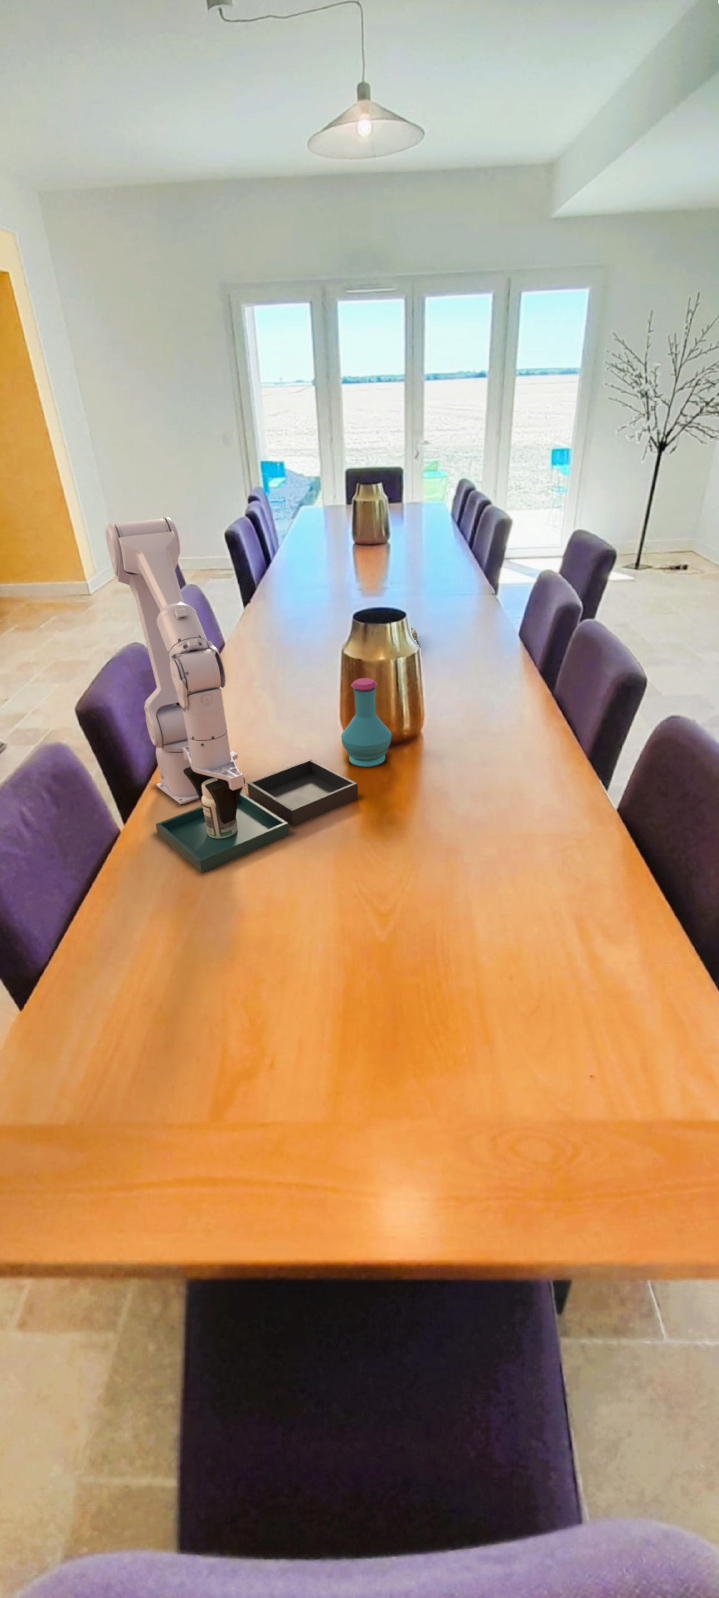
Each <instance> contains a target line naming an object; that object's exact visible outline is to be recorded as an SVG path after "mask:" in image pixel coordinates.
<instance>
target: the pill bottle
mask: <svg viewBox="0 0 719 1598" xmlns="http://www.w3.org/2000/svg"><path fill="white" fill-rule="evenodd" d="M214 781H218V780H217V778H211V779H208V780H206V781H204V782H203V783H202V793H203V796H202V799H201V800H202V803H201V806H203V811H204V817H205V822H206V828H207V833H208V835H209V836H210V837H212V838H217V839H223V838H227V837H230V836H232V835H233V834H235V833H236V832H237V830H238V826H237V819H235V820H233V821H231V822H228V823H226V824H223V823H222V822H221V820H220V817H219V814H218V811H217V807H216V804H215V802H214V799H213V797H212V796H211V794H210V792H209V791H208V790H207V789H206V787H205V785H206V784H208V783H211V782H214Z"/></svg>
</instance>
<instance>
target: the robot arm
mask: <svg viewBox="0 0 719 1598" xmlns="http://www.w3.org/2000/svg"><path fill="white" fill-rule="evenodd" d="M104 532H105V541H106V546H107V550H108V554H109V559H110V562H111V567H112V570H113V573H114V576H116V581H117V582H119V583H122V584H124V585H127V586H129V588H130V590H131V592H132V594H133V598H134V600H135V604H136V608H137V611H138V617H139V619H140V624H141V629H142V632H143V637H144V640H145V645H146V648H147V652H148V656H149V660H150V665H151V669H152V673H153V676H154V677H153V678H154V681H155V685H156V688H155V689H154V691H153V692H152V693H151V694H150V695H149V696H148V698H146V700H145V702H144V706H143V708H144V713H145V722H146V728H147V731H148V735H149V738H150V740H151V743H152V745H153V746H155V747H156V749H155V757H156V762H157V767H158V772H159V777H160V782H158V783H156V787H157V788H158V789H160V790H161V791H162V792H163V793H165V794H166V795H168V796H169V797H170V798H172V799H173V800H174V801H175V802H177V803H178V804H179V805H185V804H187V803H189V802H193V801H195V800H197V799H199V801H200V803H201V804H202V800H201V799H202V796H203V793H202V783H203V782H204V781H206V780H208V779H211V778H217V780H218V781H214V782H211V783H208V784H206V785H205V787H206V789H207V790H208V791H209V792H210V794H211V796H212V797H213V799H214V802H215V804H216V807H217V811H218V814H219V817H220V820H221V822H222V823H223V824H226V823H228V822H231V821H233V820H235V819H236V813H237V805H238V800H239V796H240V793H242V790H243V789H244V787H245V784H246V778H245V777H244V774H243V773H242V772H240V770H239V768H238V766H237V764H236V762H235V760H238V758H239V755H238V753H237V752H235V751H233V750H231V748H230V741H229V734H228V726H227V720H226V714H225V713H226V712H225V706H224V700H223V692H222V689H221V688H225V686H226V681H227V679H226V671H225V666H224V662H223V659H222V656H221V653H220V651H219V649H218V648H217V647H216V646H215V645H214V643H213V642H212V641H211V640H208V638H207V636H206V634H205V631H204V629H203V626H202V623H201V621H200V618H199V616H198V612H197V610H196V609H195V608H194V607H193V606H191V605H189V604H187V603H185V601H184V597H183V593H182V589H181V587H180V584H179V580H178V576H177V572H176V570H177V569H176V568H177V566H178V564H179V557H180V553H181V543H180V542H181V541H180V536H179V532H178V530H177V526H176V523H175V522H174V521H173V520H172V519H171V518H170V517H168V516H164V517H163V518H155V519H145V520H137V521H126V522H118V523H117V522H116V523H113V522H109V523H108V524H107V526H106V527H105V530H104ZM174 704H177V705H174ZM168 705H172V706H168ZM164 706H167V707H164ZM161 707H163V708H161Z"/></svg>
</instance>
